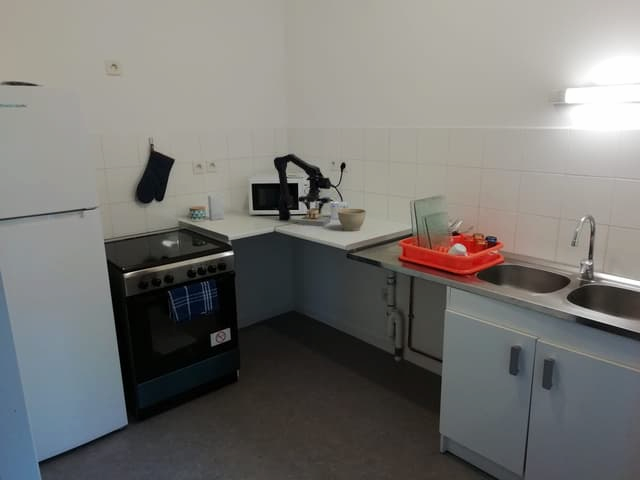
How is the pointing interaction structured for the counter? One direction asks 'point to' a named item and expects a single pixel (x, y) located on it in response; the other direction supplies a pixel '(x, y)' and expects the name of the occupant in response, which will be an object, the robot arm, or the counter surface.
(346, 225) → the planter bowl
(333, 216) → the light bulb box
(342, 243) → the counter surface
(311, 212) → the pallet
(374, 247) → the counter surface
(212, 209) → the skincare box
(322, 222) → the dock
